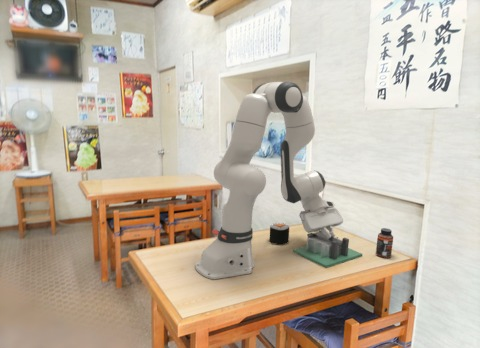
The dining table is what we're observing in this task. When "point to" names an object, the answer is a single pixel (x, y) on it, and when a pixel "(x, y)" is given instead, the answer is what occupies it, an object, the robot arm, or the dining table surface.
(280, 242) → the sushi
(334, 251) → the posts
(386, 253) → the supplement bottle
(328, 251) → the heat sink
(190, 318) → the dining table surface
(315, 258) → the circuit board
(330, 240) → the steel strap
